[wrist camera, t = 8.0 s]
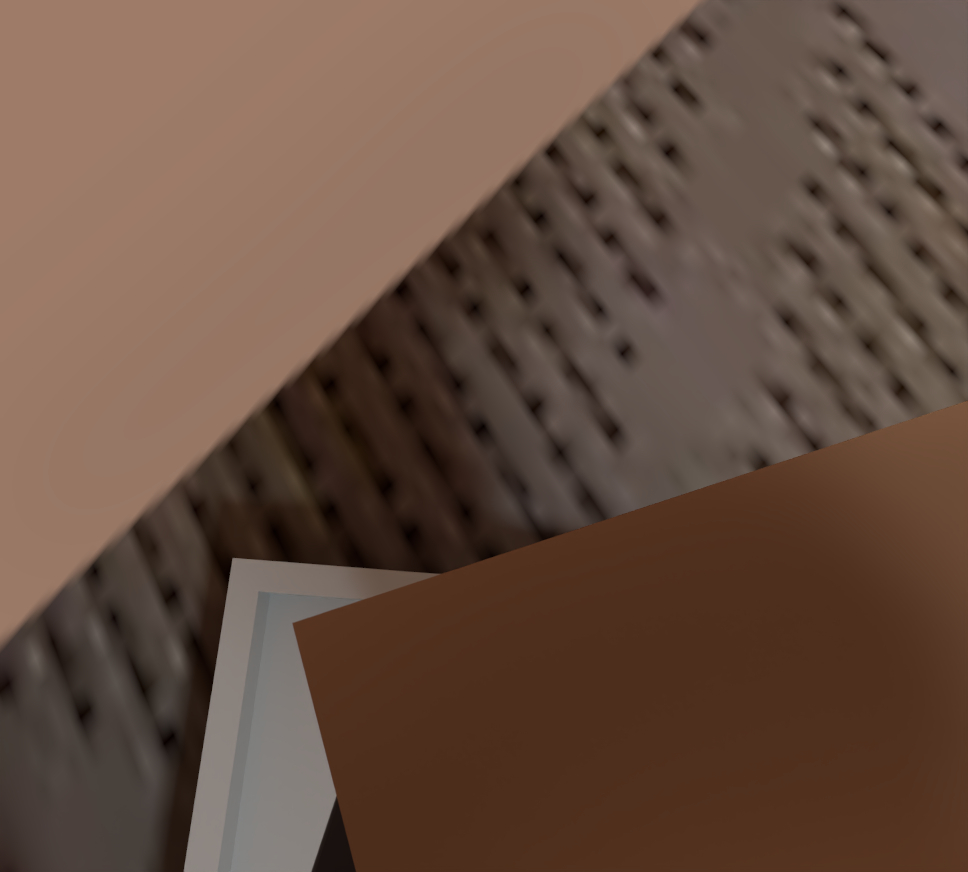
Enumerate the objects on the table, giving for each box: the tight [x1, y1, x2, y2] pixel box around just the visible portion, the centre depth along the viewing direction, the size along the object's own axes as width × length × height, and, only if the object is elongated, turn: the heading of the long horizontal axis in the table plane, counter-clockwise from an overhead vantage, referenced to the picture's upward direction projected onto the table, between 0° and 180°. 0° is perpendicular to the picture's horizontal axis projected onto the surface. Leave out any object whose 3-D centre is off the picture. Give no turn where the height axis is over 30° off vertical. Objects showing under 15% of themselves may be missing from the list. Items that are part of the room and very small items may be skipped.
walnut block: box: [292, 401, 968, 872], centre depth 10 cm, size 5×5×11 cm
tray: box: [184, 558, 440, 872], centre depth 20 cm, size 14×14×2 cm
